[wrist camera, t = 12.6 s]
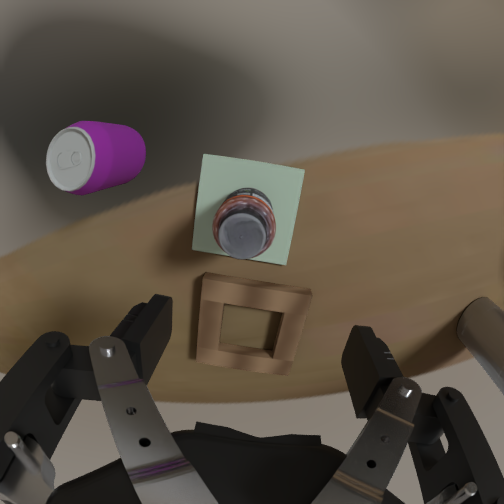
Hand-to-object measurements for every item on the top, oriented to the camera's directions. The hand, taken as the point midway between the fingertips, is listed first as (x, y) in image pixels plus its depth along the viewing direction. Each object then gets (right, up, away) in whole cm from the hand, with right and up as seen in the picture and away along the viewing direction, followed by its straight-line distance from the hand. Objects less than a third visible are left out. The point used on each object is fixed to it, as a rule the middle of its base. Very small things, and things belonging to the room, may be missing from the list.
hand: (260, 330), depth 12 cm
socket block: (-1, -7, +28) cm, 29 cm away
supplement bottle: (-1, +8, +23) cm, 24 cm away
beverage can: (-17, +16, +21) cm, 32 cm away
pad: (-1, +9, +23) cm, 25 cm away
